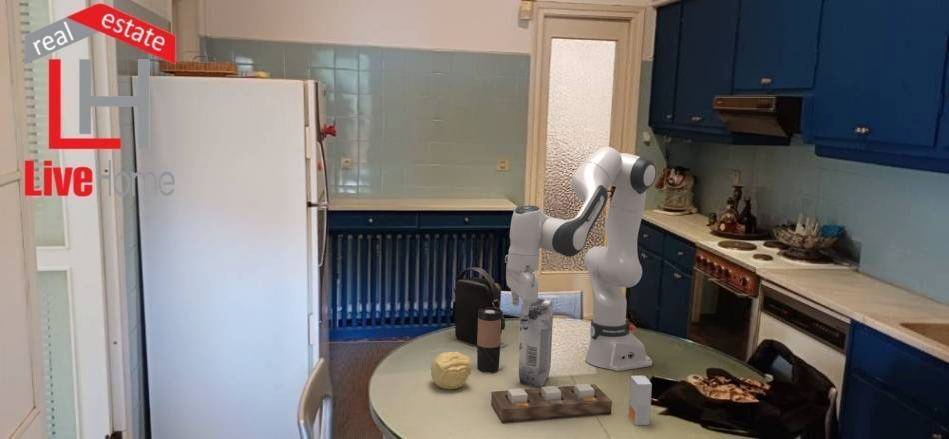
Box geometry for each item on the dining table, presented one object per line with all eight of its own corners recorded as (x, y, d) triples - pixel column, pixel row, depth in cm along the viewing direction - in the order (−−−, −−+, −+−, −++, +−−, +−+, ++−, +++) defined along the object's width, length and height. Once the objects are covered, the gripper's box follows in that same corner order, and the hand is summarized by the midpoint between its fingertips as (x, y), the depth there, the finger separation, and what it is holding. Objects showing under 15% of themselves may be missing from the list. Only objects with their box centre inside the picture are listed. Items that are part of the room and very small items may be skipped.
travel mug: (497, 374, 219) (499, 314, 216) (474, 372, 221) (475, 312, 218) (501, 365, 227) (503, 308, 224) (478, 363, 228) (480, 306, 225)
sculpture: (441, 395, 202) (441, 361, 200) (425, 381, 213) (425, 348, 211) (475, 389, 207) (476, 355, 206) (457, 375, 218) (458, 343, 216)
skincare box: (627, 415, 192) (630, 375, 190) (642, 415, 192) (645, 375, 190) (634, 425, 186) (637, 383, 184) (649, 425, 186) (652, 383, 184)
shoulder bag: (443, 337, 254) (445, 264, 249) (459, 331, 261) (461, 260, 256) (492, 352, 240) (494, 274, 235) (507, 345, 247) (509, 270, 242)
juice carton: (551, 376, 219) (555, 295, 214) (544, 389, 209) (547, 303, 205) (524, 372, 222) (528, 292, 217) (516, 384, 212) (519, 300, 207)
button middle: (555, 395, 197) (556, 386, 196) (560, 402, 192) (561, 392, 192) (541, 396, 196) (541, 387, 195) (546, 403, 191) (546, 393, 191)
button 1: (522, 398, 194) (522, 388, 194) (527, 404, 190) (527, 394, 190) (507, 399, 193) (508, 389, 193) (512, 405, 189) (512, 395, 189)
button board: (594, 396, 204) (595, 383, 203) (611, 414, 192) (612, 399, 192) (491, 404, 197) (491, 390, 196) (502, 423, 185) (502, 408, 184)
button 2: (587, 393, 199) (588, 383, 199) (593, 399, 195) (594, 389, 194) (573, 394, 198) (574, 384, 198) (579, 400, 194) (579, 390, 193)
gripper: (545, 271, 185) (541, 320, 187) (523, 255, 204) (520, 300, 206) (523, 270, 183) (519, 320, 185) (503, 255, 203) (500, 300, 205)
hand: (520, 309), depth 196 cm, fingers open, 8 cm apart
